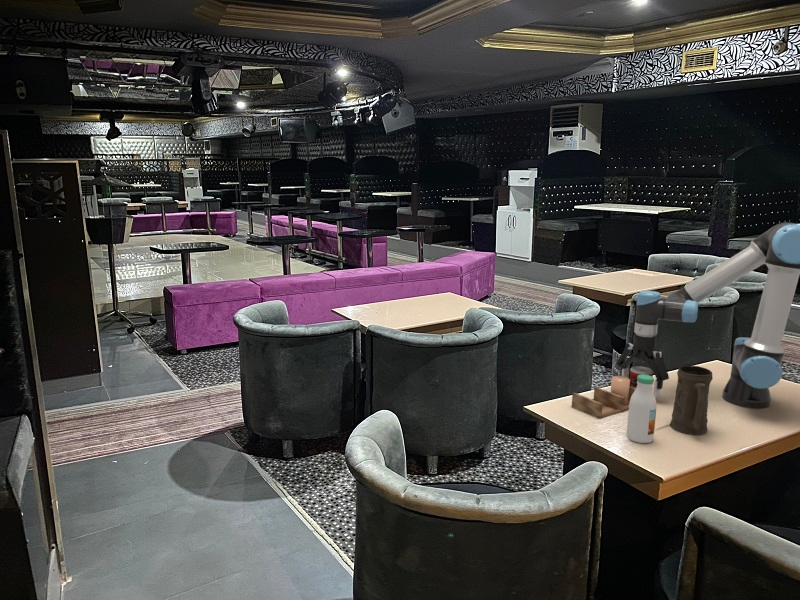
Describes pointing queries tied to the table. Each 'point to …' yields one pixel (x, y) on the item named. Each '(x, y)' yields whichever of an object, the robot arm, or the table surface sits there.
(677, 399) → the beer stein
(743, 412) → the table surface
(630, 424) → the milk bottle
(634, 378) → the canned food
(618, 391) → the peach rounded block
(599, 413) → the rack
